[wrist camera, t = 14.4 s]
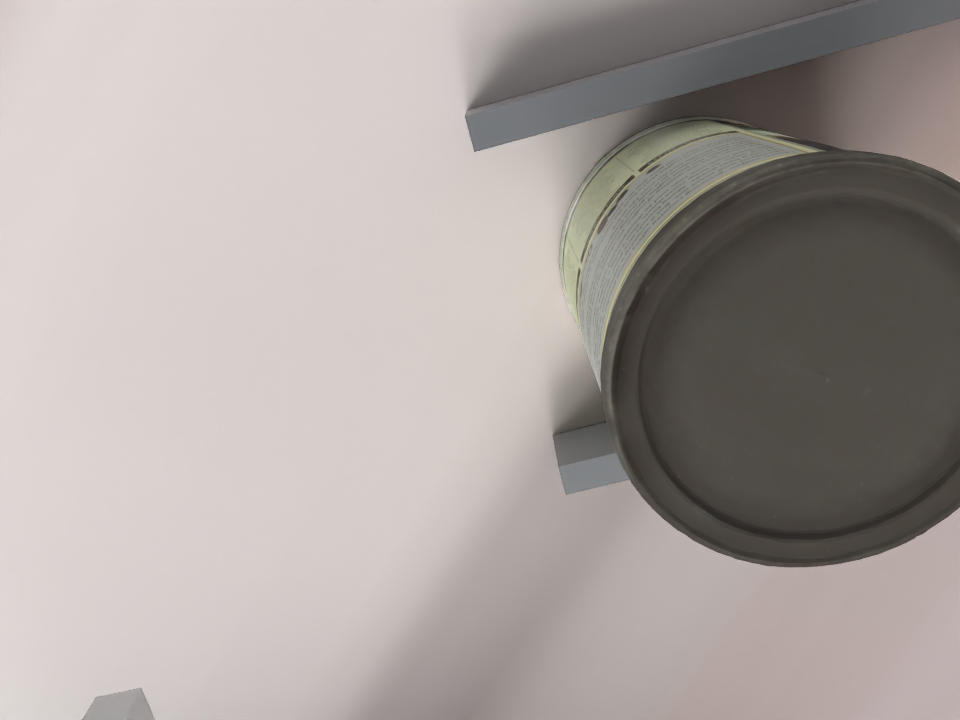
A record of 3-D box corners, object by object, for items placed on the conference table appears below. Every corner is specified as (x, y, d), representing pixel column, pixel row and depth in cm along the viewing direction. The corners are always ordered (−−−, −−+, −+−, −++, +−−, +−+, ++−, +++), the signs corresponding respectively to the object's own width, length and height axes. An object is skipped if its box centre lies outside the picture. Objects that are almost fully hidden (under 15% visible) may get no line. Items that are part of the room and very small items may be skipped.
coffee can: (845, 113, 33) (1092, 155, 20) (809, 381, 36) (1001, 572, 23) (560, 111, 33) (616, 150, 20) (551, 379, 36) (592, 568, 23)
